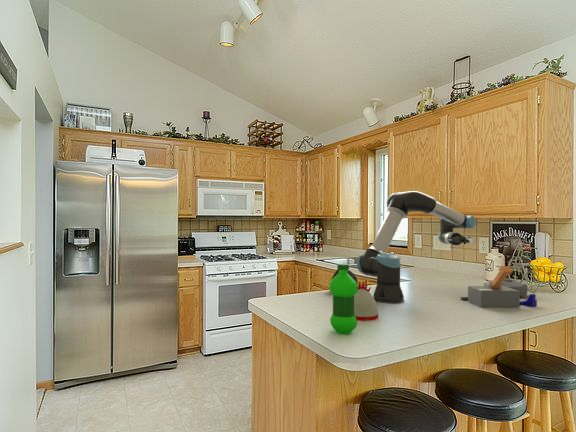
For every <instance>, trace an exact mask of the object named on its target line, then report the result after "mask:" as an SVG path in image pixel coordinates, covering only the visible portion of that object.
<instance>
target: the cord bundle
mask: <svg viewBox="0 0 576 432" xmlns="http://www.w3.org/2000/svg"><path fill="white" fill-rule="evenodd" d="M460 300H461V301H468V296H460Z"/></svg>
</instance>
